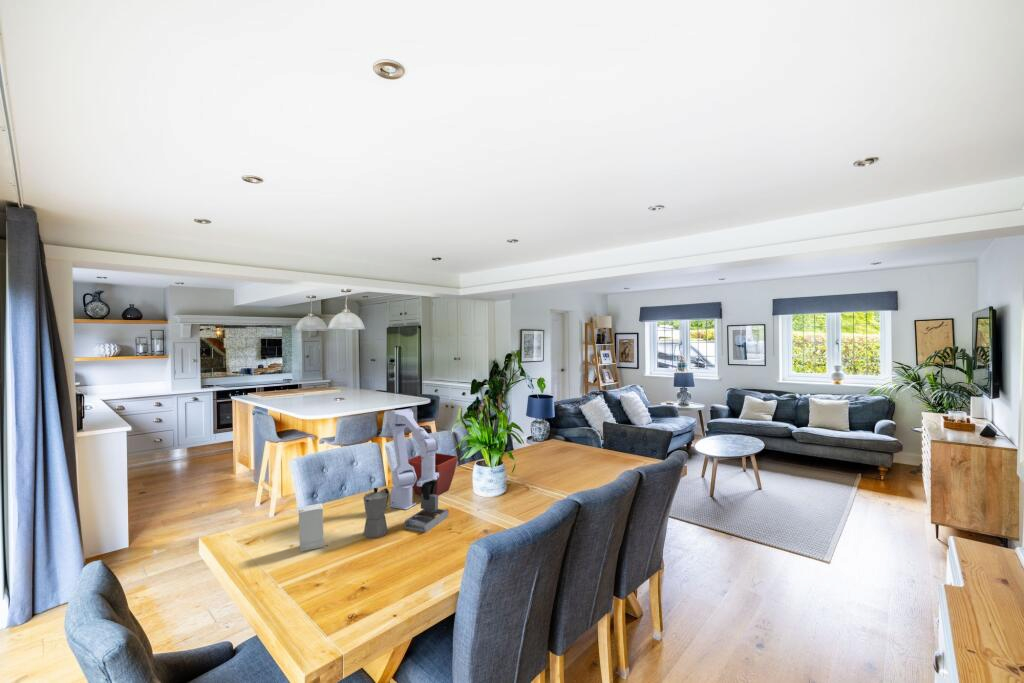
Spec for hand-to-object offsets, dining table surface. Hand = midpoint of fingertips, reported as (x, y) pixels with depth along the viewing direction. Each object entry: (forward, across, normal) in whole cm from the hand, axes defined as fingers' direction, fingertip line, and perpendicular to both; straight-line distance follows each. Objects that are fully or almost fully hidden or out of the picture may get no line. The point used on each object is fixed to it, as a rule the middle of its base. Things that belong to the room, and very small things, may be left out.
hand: (428, 498), depth 197 cm
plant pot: (+9, +31, +17) cm, 36 cm away
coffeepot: (+9, -19, +12) cm, 24 cm away
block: (+4, 0, 0) cm, 4 cm away
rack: (+9, -3, -2) cm, 9 cm away
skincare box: (+9, -39, +26) cm, 48 cm away
